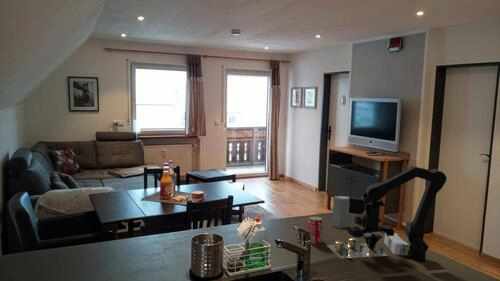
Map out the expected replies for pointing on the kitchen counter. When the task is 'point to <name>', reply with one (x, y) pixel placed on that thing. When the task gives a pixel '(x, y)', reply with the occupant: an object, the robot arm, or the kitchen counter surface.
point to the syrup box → (396, 244)
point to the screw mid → (354, 244)
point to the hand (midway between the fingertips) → (369, 250)
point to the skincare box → (341, 212)
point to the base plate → (356, 252)
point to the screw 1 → (341, 248)
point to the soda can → (315, 229)
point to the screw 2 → (378, 248)
